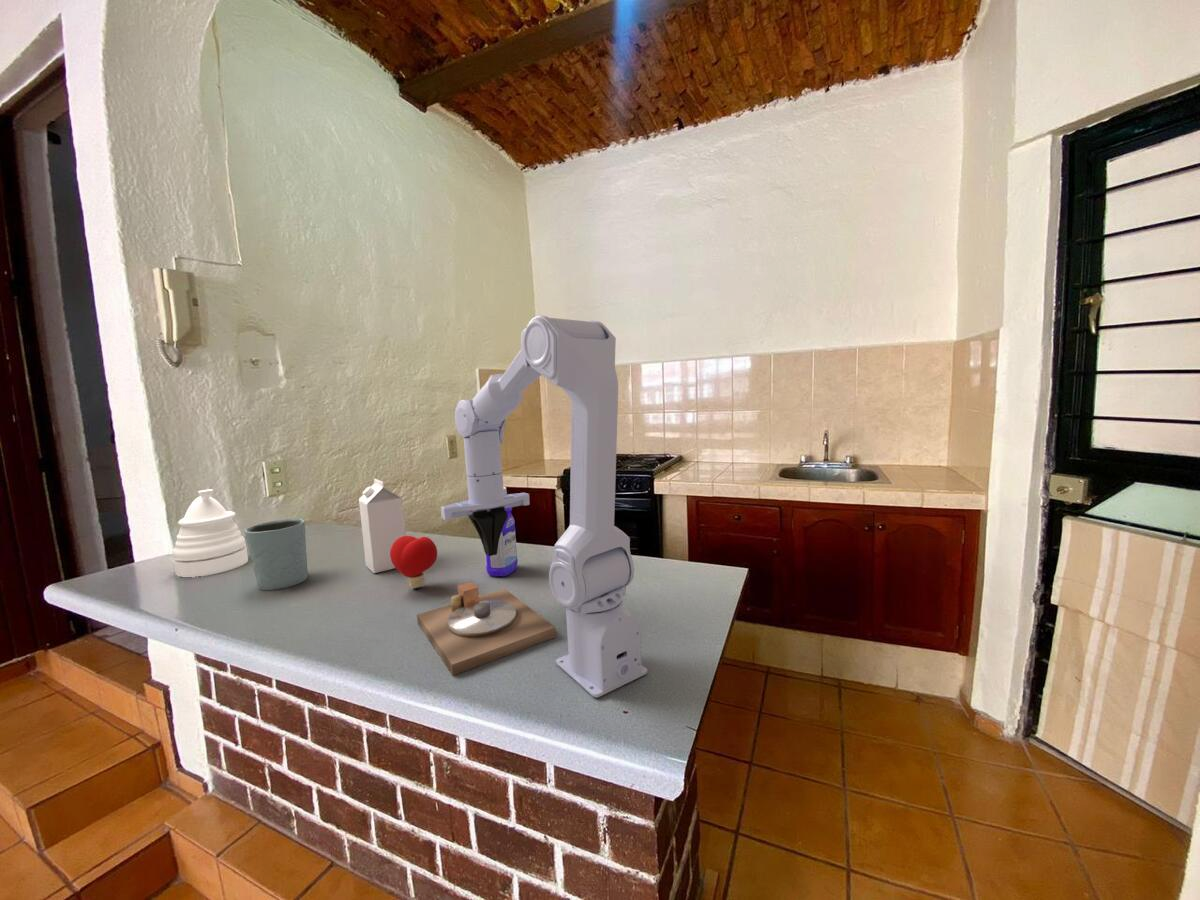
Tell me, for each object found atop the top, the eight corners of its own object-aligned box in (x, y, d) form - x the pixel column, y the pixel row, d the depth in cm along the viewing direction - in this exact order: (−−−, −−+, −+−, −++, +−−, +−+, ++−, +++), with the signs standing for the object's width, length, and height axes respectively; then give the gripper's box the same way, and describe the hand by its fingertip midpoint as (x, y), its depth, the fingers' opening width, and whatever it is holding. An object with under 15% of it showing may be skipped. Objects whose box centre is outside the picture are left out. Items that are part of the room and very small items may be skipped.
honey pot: (258, 562, 109) (248, 486, 107) (188, 581, 98) (175, 498, 96) (234, 554, 116) (224, 483, 114) (166, 572, 105) (154, 493, 103)
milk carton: (399, 557, 107) (391, 476, 105) (409, 565, 101) (400, 479, 99) (365, 566, 102) (356, 481, 100) (374, 574, 97) (364, 484, 95)
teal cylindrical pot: (290, 591, 90) (282, 530, 89) (238, 593, 90) (230, 532, 89) (322, 571, 100) (315, 517, 99) (276, 573, 101) (269, 519, 99)
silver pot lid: (527, 621, 70) (525, 600, 69) (461, 644, 64) (459, 620, 63) (494, 595, 80) (493, 575, 79) (435, 612, 74) (433, 592, 74)
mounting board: (555, 636, 68) (554, 612, 67) (452, 675, 59) (450, 647, 59) (505, 597, 83) (504, 576, 82) (417, 623, 74) (415, 600, 74)
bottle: (508, 579, 91) (502, 491, 89) (481, 578, 92) (474, 491, 90) (522, 565, 98) (516, 484, 96) (496, 565, 99) (490, 484, 97)
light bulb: (383, 593, 87) (378, 541, 85) (410, 579, 93) (405, 530, 92) (424, 598, 84) (419, 544, 82) (449, 583, 90) (444, 533, 89)
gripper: (515, 466, 84) (520, 539, 85) (432, 477, 76) (440, 557, 77) (532, 469, 78) (538, 548, 79) (445, 482, 70) (453, 569, 71)
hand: (490, 553), depth 78 cm, fingers closed
